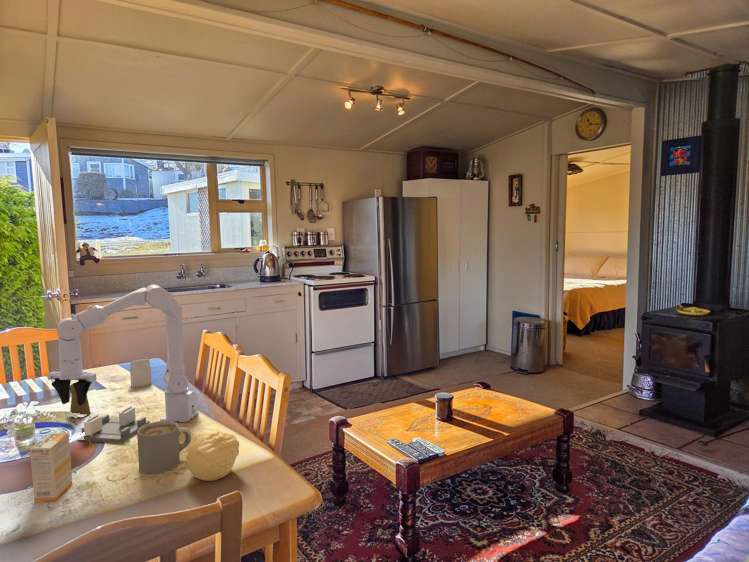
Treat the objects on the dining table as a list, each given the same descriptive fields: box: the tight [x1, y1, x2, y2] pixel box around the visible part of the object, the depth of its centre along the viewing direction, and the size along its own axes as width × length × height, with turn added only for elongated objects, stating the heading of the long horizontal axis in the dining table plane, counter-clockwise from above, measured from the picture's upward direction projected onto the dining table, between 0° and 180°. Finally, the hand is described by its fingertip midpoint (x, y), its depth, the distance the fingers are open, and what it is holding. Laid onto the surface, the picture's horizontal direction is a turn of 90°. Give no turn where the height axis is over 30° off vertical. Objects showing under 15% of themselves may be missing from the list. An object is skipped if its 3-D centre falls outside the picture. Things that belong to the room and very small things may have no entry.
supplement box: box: [29, 432, 73, 503], centre depth 118 cm, size 8×5×13 cm, turn 5°
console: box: [80, 414, 151, 444], centre depth 153 cm, size 14×14×3 cm
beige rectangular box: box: [129, 358, 153, 389], centre depth 198 cm, size 4×7×10 cm, turn 128°
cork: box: [69, 381, 92, 416], centre depth 167 cm, size 6×6×11 cm
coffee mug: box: [136, 420, 192, 475], centre depth 133 cm, size 13×10×10 cm
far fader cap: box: [118, 406, 137, 426], centre depth 157 cm, size 2×5×4 cm, turn 172°
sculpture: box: [186, 430, 240, 482], centre depth 127 cm, size 12×12×11 cm
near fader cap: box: [83, 414, 103, 435], centre depth 150 cm, size 2×5×4 cm, turn 172°
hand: (73, 403), depth 150 cm, fingers open, 5 cm apart
